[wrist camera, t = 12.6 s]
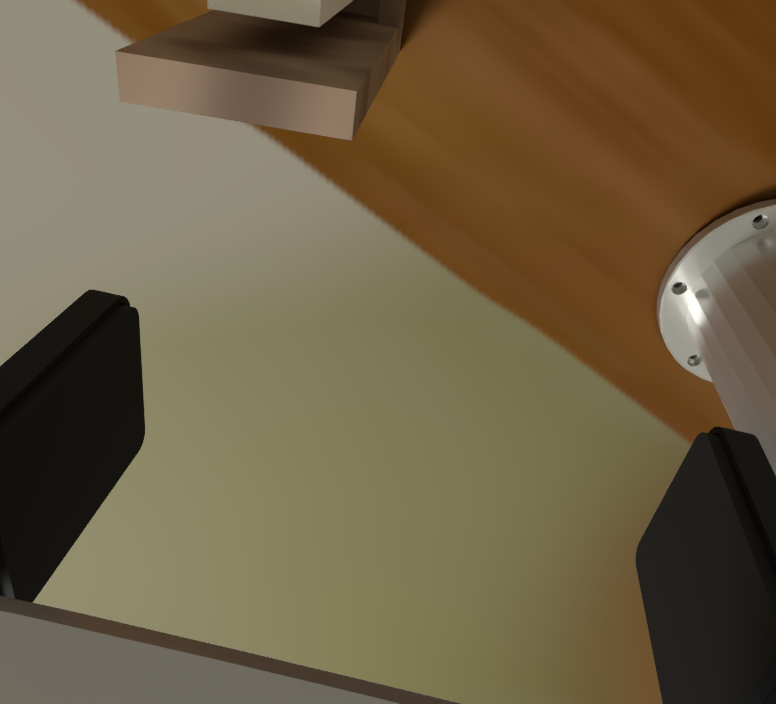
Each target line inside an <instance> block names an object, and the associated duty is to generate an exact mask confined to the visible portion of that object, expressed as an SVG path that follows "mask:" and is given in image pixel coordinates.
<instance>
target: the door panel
mask: <svg viewBox="0 0 776 704" xmlns="http://www.w3.org/2000/svg"><path fill="white" fill-rule="evenodd" d="M352 1H353V0H207V2H208V9H214V10H220V11H226V12H232V13H238V14H244V15H250V16H256V17H261V18H267V19H273V20H279V21H285V22H291V23H297V24H303V25H309V26H315V27H320V26H322V25H323V24H324V23H325V22H327V21H328V20H329V19H330V18H332V17H333V16H334V15H335V14H337V13H338V12H339V11H341V10H342V9H343V8H344V7H346V6H347V5H348V4H349V3H351V2H352Z"/></svg>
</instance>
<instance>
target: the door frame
mask: <svg viewBox="0 0 776 704" xmlns="http://www.w3.org/2000/svg"><path fill="white" fill-rule="evenodd" d="M406 1H407V0H353V1H352V2H351V3H349V4H348V5H347V6H346V7H344V8H343V9H342V10H341V11H339V12H338V13H337V14H335V15H334V16H333V17H332V18H330V19H329V20H328V21H327V22H325V23H324V24H323V25H322V26H320V27H315V26H309V25H303V24H297V23H291V22H285V21H279V20H273V19H267V18H261V17H256V16H250V15H244V14H238V13H232V12H226V11H220V10H213V11H211V12H208V13H206V14H203V15H201V16H199V17H196V18H194V19H191V20H189V21H187V22H184V23H182V24H179V25H177V26H175V27H172V28H170V29H167V30H165V31H162V32H160V33H158V34H155V35H153V36H150V37H148V38H146V39H143V40H141V41H138V42H136V43H134V44H131V45H129V46H126V47H124V48H122V49H119V50H117V51H115V52H116V63H117V74H118V85H119V96H120V101H121V102H127V103H133V104H139V105H145V106H151V107H156V108H162V109H169V110H174V111H181V112H186V113H192V114H199V115H204V116H210V117H217V118H222V119H228V120H234V121H240V122H245V123H251V124H257V125H263V126H269V127H275V128H281V129H287V130H293V131H299V132H305V133H311V134H317V135H323V136H328V137H334V138H340V139H346V140H352V139H353V137H354V135H355V134H356V132H357V130H358V128H359V126H360V124H361V123H362V121H363V119H364V117H365V115H366V113H367V111H368V110H369V108H370V106H371V104H372V102H373V100H374V99H375V97H376V95H377V93H378V91H379V89H380V87H381V86H382V84H383V82H384V80H385V78H386V76H387V74H388V73H389V71H390V69H391V67H392V65H393V63H394V62H395V60H396V58H397V56H398V54H399V52H400V47H401V39H402V31H403V24H404V16H405V9H406Z"/></svg>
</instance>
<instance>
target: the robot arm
mask: <svg viewBox="0 0 776 704" xmlns="http://www.w3.org/2000/svg"><path fill="white" fill-rule="evenodd" d="M759 215H760V216H759ZM757 216H759V218H757V219H756V220H754V219H755V217H757ZM677 282H679V283H678V284H675V283H677ZM657 320H658V324H659V328H660V332H661V335H662V337H663V339H664V341H665V344H666V346H667V348H668V349H669V351H670V352H671V354H672V355H673V357H674V358H675V359H676V360H677V361H678V362H679V363H680V364H681V365H682V366H683V367H684V368H685V369H686V370H688V371H690V372H691V373H693V374H695V375H696V376H698V377H700V378H701V379H704V380H707V381H710V382H713V383H714V385H715V388H716V390H717V392H718V394H719V396H720V398H721V400H722V402H723V404H724V406H725V409H726V411H727V413H728V415H729V417H730V419H731V421H732V423H733V425H734V428H735V430H732V429H727V428H723V427H714V428H713V429H712V430H710V432H709V433H704V432H703V433H700V434H699V435H698V436H697V437H696V439H695V440H694V442H693V444H692V446H691V448H690V450H689V451H688V453H687V455H686V457H685V459H684V460H683V462H682V464H681V466H680V468H679V470H678V472H677V473H676V476H675V477H674V479H673V481H672V483H671V485H670V486H669V488H668V490H667V492H666V494H665V496H664V497H663V500H662V501H661V503H660V505H659V507H658V509H657V511H656V512H655V514H654V516H653V518H652V520H651V522H650V523H649V525H648V527H647V529H646V531H645V533H644V535H643V536H642V538H641V540H640V542H639V544H638V547H637V552H636V568H637V573H638V578H639V583H640V588H641V593H642V598H643V603H644V609H645V613H646V619H647V624H648V629H649V635H650V640H651V645H652V650H653V655H654V660H655V665H656V671H657V676H658V681H659V686H660V691H661V696H662V701H663V704H776V199H772V200H766V201H761V202H757V203H754V204H751V205H748V206H745V207H742V208H740V209H737V210H735V211H733V212H731V213H729V214H727V215H725V216H723V217H721V218H719V219H717V220H715V221H714V222H713V223H711V224H710V225H708V226H707V227H706V228H704V229H703V230H702V231H700V232H699V233H697V234H696V235H695V236H694V237H693V238H692V239H691V240H690V241H689V242H688V243H687V244H686V245H685V246H684V247H683V248H682V249H681V250H680V252H679V253H678V255H677V256H676V257H675V259H674V260H673V262H672V263H671V264H670V266H669V268H668V270H667V272H666V274H665V276H664V278H663V281H662V283H661V286H660V290H659V295H658V299H657ZM144 435H145V419H144V401H143V383H142V365H141V347H140V328H139V314H138V311H137V309H136V308H134V307H130V303H129V301H128V299H127V298H126V297H124V296H120V295H115V294H111V293H106V292H101V291H97V290H89V291H87V292H85V293H84V294H83V295H82V296H81V297H79V298H78V299H77V300H76V301H75V302H74V303H73V304H72V305H70V306H69V307H68V308H67V309H66V310H65V311H63V312H62V313H61V314H60V315H59V316H58V317H57V318H55V319H54V320H53V321H52V322H51V323H50V324H48V325H47V326H46V327H45V328H44V329H43V330H42V331H40V332H39V333H38V334H37V335H36V336H35V337H34V338H33V339H31V340H30V341H29V342H28V343H27V344H26V345H24V346H23V347H22V348H21V349H20V350H19V351H18V352H16V353H15V354H14V355H13V356H12V357H11V358H9V359H8V360H7V361H6V362H5V363H4V364H3V365H1V366H0V704H460V703H456V702H452V701H448V700H444V699H440V698H436V697H432V696H428V695H423V694H419V693H415V692H411V691H407V690H403V689H399V688H394V687H390V686H386V685H382V684H378V683H373V682H369V681H365V680H361V679H357V678H353V677H349V676H345V675H340V674H336V673H332V672H328V671H323V670H319V669H315V668H311V667H307V666H303V665H298V664H294V663H290V662H285V661H282V660H278V659H273V658H269V657H265V656H261V655H256V654H252V653H248V652H244V651H239V650H236V649H231V648H227V647H222V646H218V645H214V644H210V643H206V642H201V641H197V640H193V639H189V638H184V637H180V636H176V635H171V634H167V633H163V632H159V631H154V630H150V629H146V628H142V627H137V626H133V625H128V624H124V623H120V622H116V621H112V620H107V619H103V618H98V617H95V616H90V615H86V614H82V613H77V612H73V611H68V610H63V609H59V608H54V607H50V606H45V605H40V604H36V603H32V602H33V601H34V600H35V598H36V597H37V595H38V594H39V593H40V591H41V590H42V588H43V587H44V585H45V584H46V582H47V581H48V580H49V578H50V577H51V576H52V574H53V573H54V571H55V570H56V568H57V567H58V566H59V564H60V563H61V561H62V560H63V558H64V557H65V556H66V554H67V553H68V551H69V550H70V548H71V547H72V546H73V544H74V543H75V541H76V540H77V539H78V537H79V536H80V534H81V533H82V531H83V530H84V528H85V527H86V526H87V524H88V523H89V521H90V520H91V519H92V517H93V516H94V514H95V513H96V511H97V510H98V508H99V507H100V506H101V504H102V503H103V501H104V500H105V499H106V497H107V496H108V494H109V493H110V492H111V490H112V489H113V487H114V486H115V484H116V483H117V482H118V480H119V479H120V477H121V476H122V475H123V473H124V471H125V470H126V469H127V467H128V466H129V465H130V463H131V462H132V460H133V459H134V457H135V456H136V455H137V453H138V452H139V450H140V448H141V446H142V443H143V440H144Z"/></svg>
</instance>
